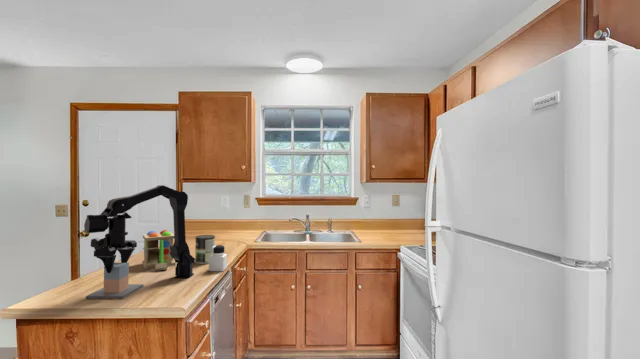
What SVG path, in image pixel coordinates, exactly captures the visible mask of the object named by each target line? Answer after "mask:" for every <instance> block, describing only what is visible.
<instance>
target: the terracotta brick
mask: <svg viewBox="0 0 640 359" xmlns="http://www.w3.org/2000/svg"><path fill="white" fill-rule="evenodd" d="M129 277H130V276H129V275H128V276H126V277H124V278H122V279H119V280H109V279H104V278H103V287H104V292H121V291H123V290H125V289H126V288H128V284H129Z"/></svg>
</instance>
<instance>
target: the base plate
mask: <svg viewBox="0 0 640 359" xmlns="http://www.w3.org/2000/svg"><path fill="white" fill-rule="evenodd" d="M144 286H145V284H141V283H139V284H138V283H137V284H136V283H135V284H133V283H131V284H130V283H128V288H126V289H125V290H123V291H121V292H104V286H103V287H101V288H100V289H99V288H98V290H95V291H94V292H93V291H92V293H89V294H87V295H86V296H85V299H86V298H94V299H95V300H97V299H98V300H100V299H99V298H124V299H125V297H126V298H127V297H129V296H131V295H132V294H133V293H136V292H137V291H139V290H141V289H142V288H144ZM130 294H131V295H130ZM94 299H93V300H94Z"/></svg>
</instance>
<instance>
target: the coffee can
mask: <svg viewBox="0 0 640 359" xmlns="http://www.w3.org/2000/svg"><path fill="white" fill-rule="evenodd" d="M215 240H216V235H213V234H201V235H196V236H195V247H194V248H195V252H194V253H195V257H194V258H195V262H194V264H197V265H207V264H208V265H209V257H210V256H211V255H213V254H212V247H213V246H215V244H216V243H215V242H216V241H215Z"/></svg>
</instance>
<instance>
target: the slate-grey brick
mask: <svg viewBox="0 0 640 359" xmlns="http://www.w3.org/2000/svg"><path fill="white" fill-rule="evenodd" d="M129 264H130V263H129V262H127V263H121V262H114V265H113V268H112V271H111V273H107V271H106V268H105V266H104V265H103V266H104V267H103V280H104V279H109V280H119V279H122V278H124V277H126V276H128V275H129V273H130V272H129V271H130V265H129ZM128 277H129V276H128Z"/></svg>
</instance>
